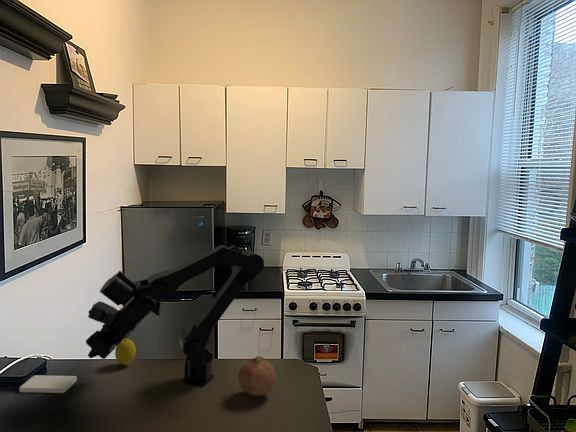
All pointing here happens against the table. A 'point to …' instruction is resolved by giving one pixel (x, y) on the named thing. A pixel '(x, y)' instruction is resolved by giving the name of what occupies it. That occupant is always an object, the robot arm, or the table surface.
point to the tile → (48, 384)
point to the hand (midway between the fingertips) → (89, 356)
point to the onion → (257, 376)
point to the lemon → (125, 351)
